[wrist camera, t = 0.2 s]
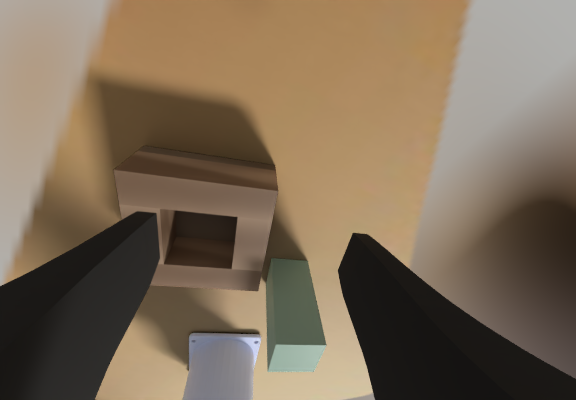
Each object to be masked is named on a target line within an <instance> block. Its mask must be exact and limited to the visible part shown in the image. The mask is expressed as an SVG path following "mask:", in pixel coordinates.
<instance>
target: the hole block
mask: <svg viewBox="0 0 576 400" xmlns="http://www.w3.org/2000/svg"><path fill="white" fill-rule="evenodd" d="M114 176H115V182H116V188H117V194H118V200H119V206H120V212H121V218H122V219H124V218H126V217H128V216H129V215H131V214H133V213H135V212H137V211H142V212H151V213H157V225H158V237H159V249H160V260H159V263H158V265H157V268H156V271H155V274H154V276H153V279H152V282H151V284H150V285H154V286H172V287H190V288H209V289H227V290H245V291H258V289H259V284H260V279H261V274H262V269H263V264H264V259H265V254H266V249H267V244H268V239H269V234H270V229H271V224H272V219H273V214H274V210H275V205H276V200H277V195H278V185H277V177H276V169H275V165H270V164H264V163H257V162H250V161H243V160H236V159H230V158H223V157H216V156H209V155H203V154H196V153H189V152H182V151H176V150H169V149H162V148H155V147H149V146H143V147H142V148H140V149H139V150H138V151H137V152H135V153H134V154H133V155H132V156H130V157H129V158H128V159H127V160H125V161H124V162H123V163H122V164H120V165H119V166H118V167H116V168H115V169H114Z"/></svg>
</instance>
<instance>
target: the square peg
mask: <svg viewBox="0 0 576 400" xmlns="http://www.w3.org/2000/svg"><path fill="white" fill-rule="evenodd" d="M266 312H267V361H268V372H314V370H315V368H316V366H317V364H318V362H319V360H320V358H321V356H322V354H323V352H324V349H325V347H326V341H325V337H324V332H323V328H322V323H321V319H320V314H319V310H318V305H317V301H316V296H315V292H314V287H313V283H312V278H311V274H310V269H309V265H308V261H303V260H291V259H278V258H271V263H270V267H269V272H268V276H267V281H266Z"/></svg>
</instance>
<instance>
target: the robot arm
mask: <svg viewBox="0 0 576 400" xmlns="http://www.w3.org/2000/svg"><path fill="white" fill-rule="evenodd" d="M159 260H160V249H159V237H158V225H157V213H151V212H142V211H137V212H135V213H133V214H131V215H129V216H128V217H126V218H124V219H122V220H121V221H119V222H117V223H116V224H114V225H113V226H111V227H109V228H108V229H106V230H104V231H103V232H101V233H99V234H97V235H96V236H94V237H92V238H91V239H89V240H87V241H85V242H84V243H82V244H80V245H79V246H77V247H75V248H73V249H71V250H70V251H68V252H66V253H64V254H62V255H60V256H59V257H57V258H55V259H53V260H51V261H49V262H47V263H46V264H44V265H42V266H40V267H38V268H36V269H34V270H33V271H31V272H29V273H27V274H25V275H23V276H21V277H19V278H17V279H14V280H12V281H10V282H8V283H6V284H4V285H2V286H0V400H95V397H96V395H97V392H98V390H99V388H100V385H101V383H102V380H103V378H104V376H105V373H106V371H107V368H108V366H109V364H110V362H111V360H112V358H113V356H114V354H115V352H116V350H117V348H118V346H119V344H120V342H121V340H122V338H123V336H124V334H125V332H126V330H127V329H128V327H129V325H130V323H131V321H132V319H133V317H134V315H135V313H136V311H137V310H138V308H139V306H140V304H141V302H142V300H143V298H144V296H145V294H146V292H147V290H148V288H149V286H150V284H151V282H152V279H153V276H154V274H155V271H156V268H157V265H158V263H159ZM338 274H339V279H340V284H341V289H342V293H343V297H344V300H345V303H346V306H347V309H348V312H349V315H350V318H351V321H352V323H353V326H354V329H355V332H356V335H357V338H358V341H359V344H360V347H361V349H362V352H363V356H364V359H365V362H366V365H367V369H368V373H369V377H370V381H371V385H372V389H373V393H374V397H375V400H576V379H575V378H573V377H571V376H569V375H568V374H566V373H564V372H562V371H560V370H558V369H557V368H555V367H553V366H551V365H549V364H547V363H546V362H544V361H542V360H541V359H539V358H537V357H535V356H534V355H532V354H530V353H528V352H527V351H525V350H523V349H521V348H520V347H518V346H517V345H515V344H514V343H512V342H510V341H509V340H507V339H505V338H504V337H502V336H501V335H499V334H497V333H496V332H494V331H493V330H491V329H490V328H488V327H486V326H485V325H483V324H482V323H480V322H479V321H477V320H476V319H474V318H473V317H472V316H470V315H469V314H467V313H466V312H464V311H463V310H461V309H460V308H459V307H457V306H456V305H454V304H453V303H451V302H450V301H449V300H448V299H446V298H445V297H443V296H442V295H441V294H440V293H438V292H437V291H436V290H435V289H433V288H432V287H431V286H429V285H428V284H427V283H426V282H424V281H423V280H422V279H421V278H419V277H418V276H417V275H416V274H415V273H413V272H412V271H411V270H410V269H409V268H407V267H406V266H405V265H404V264H403V263H402V262H400V261H399V260H398V259H397V258H396V257H395V256H393V255H392V254H391V253H390V252H389V251H388V250H386V249H385V248H384V247H383V246H382V245H380V244H379V243H378V242H377V241H376V240H374V239H373V238H372V237H370V236H369V235H368V234H359V233H353V234H352V237H351V239H350V242H349V244H348V247H347V249H346V252H345V254H344V256H343V259H342V261H341V264H340V266H339V269H338ZM260 342H261V336H260V335H259V334H224V333H191V334H190V336H189V373H188V378H187V382H186V386H185V391H184V395H183V400H253V373H254V366H255V362H256V358H257V354H258V350H259V346H260Z"/></svg>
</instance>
